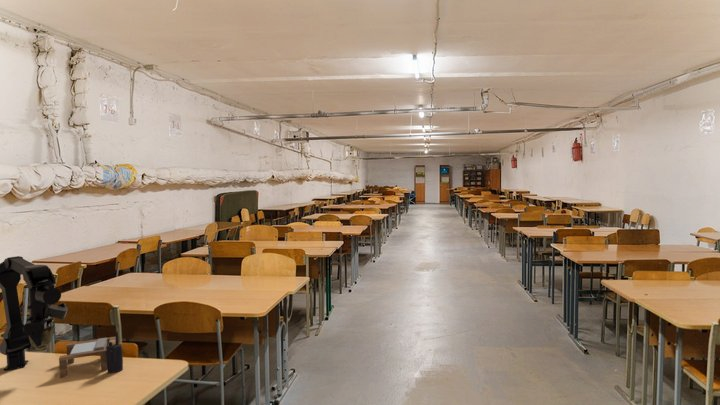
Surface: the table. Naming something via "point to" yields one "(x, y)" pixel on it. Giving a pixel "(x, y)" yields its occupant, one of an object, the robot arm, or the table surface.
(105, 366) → the frame
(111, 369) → the two-way radio
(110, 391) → the table surface
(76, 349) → the trapdoor
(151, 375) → the table surface
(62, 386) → the table surface
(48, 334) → the brass rounded piece
